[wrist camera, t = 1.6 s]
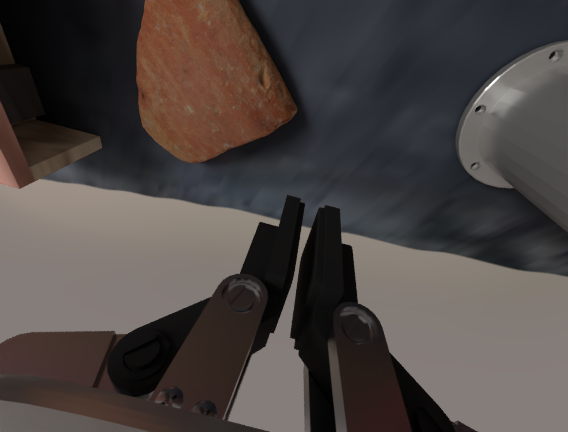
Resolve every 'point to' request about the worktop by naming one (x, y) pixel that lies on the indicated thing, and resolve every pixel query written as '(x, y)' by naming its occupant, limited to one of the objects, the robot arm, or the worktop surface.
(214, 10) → the ceramic shard
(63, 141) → the overhang bay
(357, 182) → the worktop surface
